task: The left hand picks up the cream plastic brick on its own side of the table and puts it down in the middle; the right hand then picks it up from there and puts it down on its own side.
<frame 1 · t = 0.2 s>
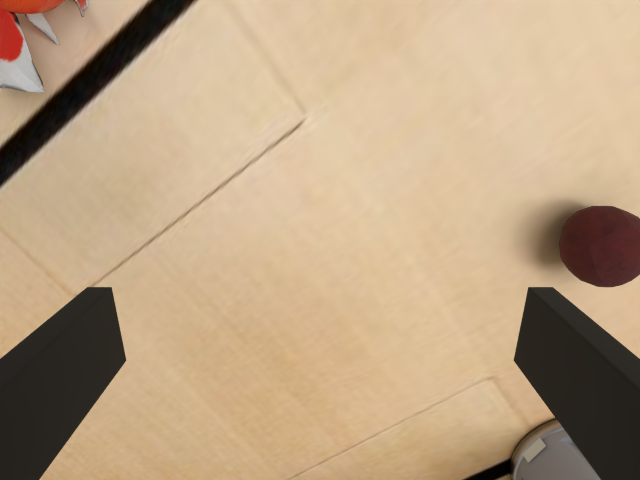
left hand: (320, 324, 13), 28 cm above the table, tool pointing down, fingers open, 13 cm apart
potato: (579, 232, 41), on the table
fish: (49, 26, 35), on the table
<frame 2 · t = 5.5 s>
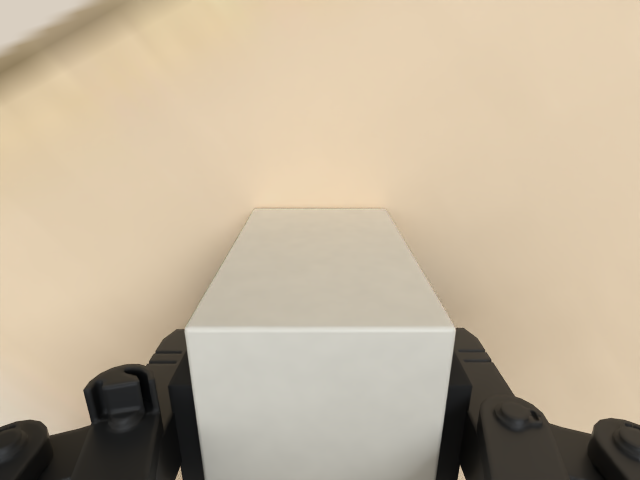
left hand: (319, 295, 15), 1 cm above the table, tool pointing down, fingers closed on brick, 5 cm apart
brick: (320, 287, 15), on the table, touching left hand
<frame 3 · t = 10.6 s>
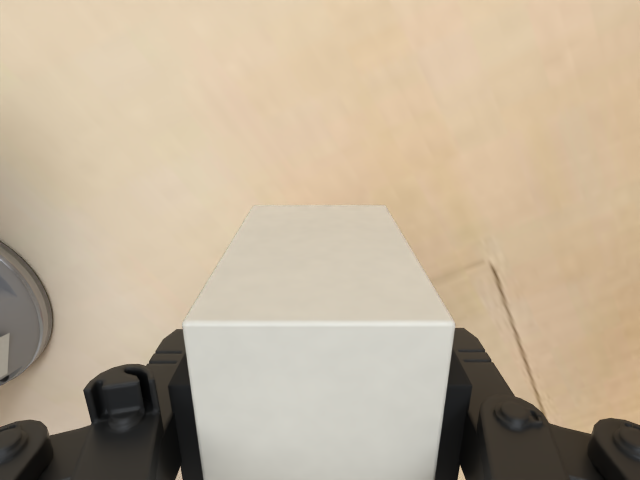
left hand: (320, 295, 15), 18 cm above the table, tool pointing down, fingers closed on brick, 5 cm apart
brick: (319, 284, 15), point 17 cm above the table, touching left hand
when the left hand's fingers open (2 cm above the table, at t = 16.1 s): brick drops 1 cm, on the table.
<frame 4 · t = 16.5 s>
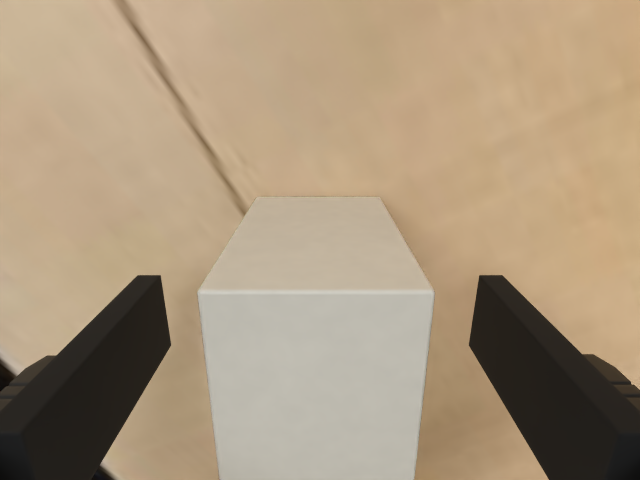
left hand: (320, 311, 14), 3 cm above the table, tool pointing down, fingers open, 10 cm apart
brick: (318, 271, 16), on the table
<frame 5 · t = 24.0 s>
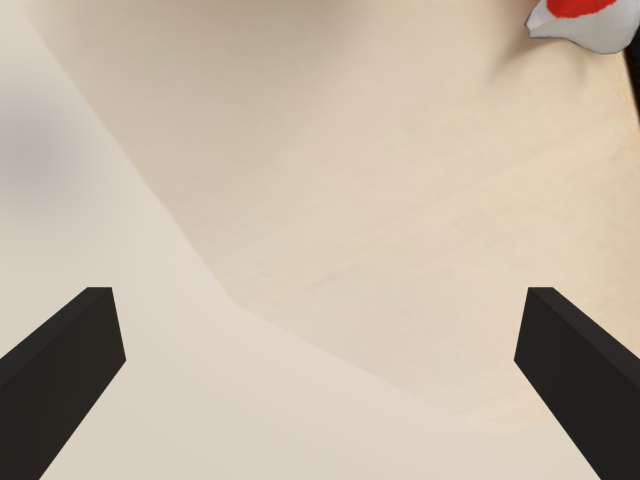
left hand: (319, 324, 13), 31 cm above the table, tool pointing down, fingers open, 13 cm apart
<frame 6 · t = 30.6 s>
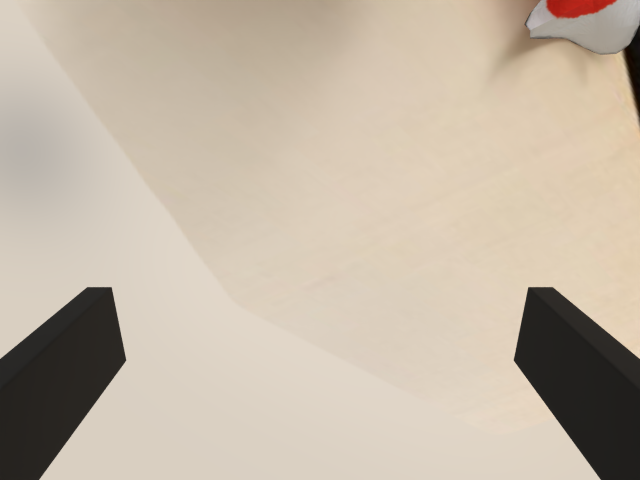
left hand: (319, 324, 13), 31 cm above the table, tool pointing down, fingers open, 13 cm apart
when the right hand's fingers open (2 cm above the table, at t = 37.1 s): brick drops 1 cm, on the table.
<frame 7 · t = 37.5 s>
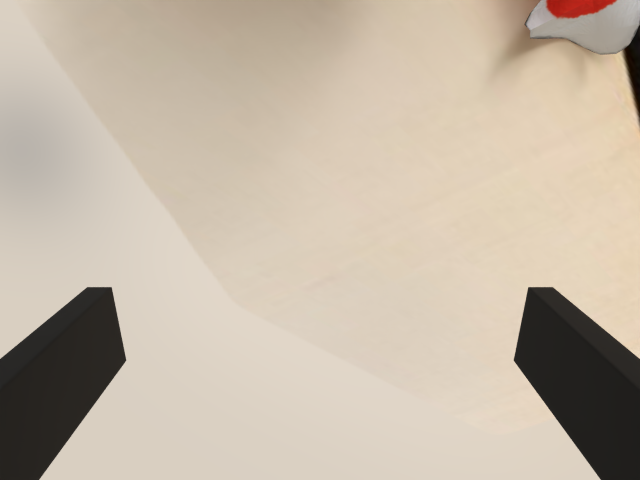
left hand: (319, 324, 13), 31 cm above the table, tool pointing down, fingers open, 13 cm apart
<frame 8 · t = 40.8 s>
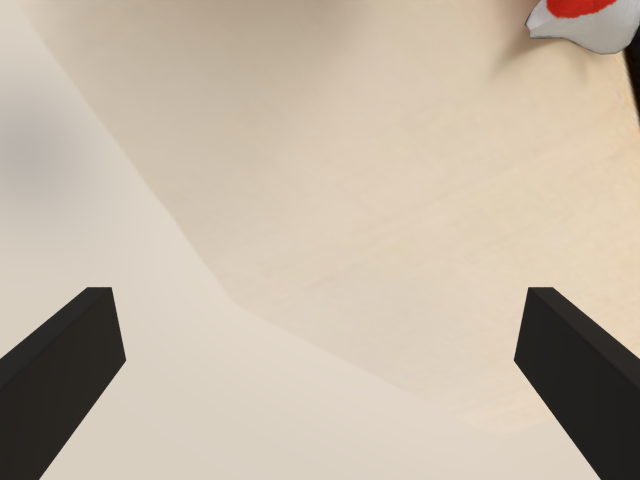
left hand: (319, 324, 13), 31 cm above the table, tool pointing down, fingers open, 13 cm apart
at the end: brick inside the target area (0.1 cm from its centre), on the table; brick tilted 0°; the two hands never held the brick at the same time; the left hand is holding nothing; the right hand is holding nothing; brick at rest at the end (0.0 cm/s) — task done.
